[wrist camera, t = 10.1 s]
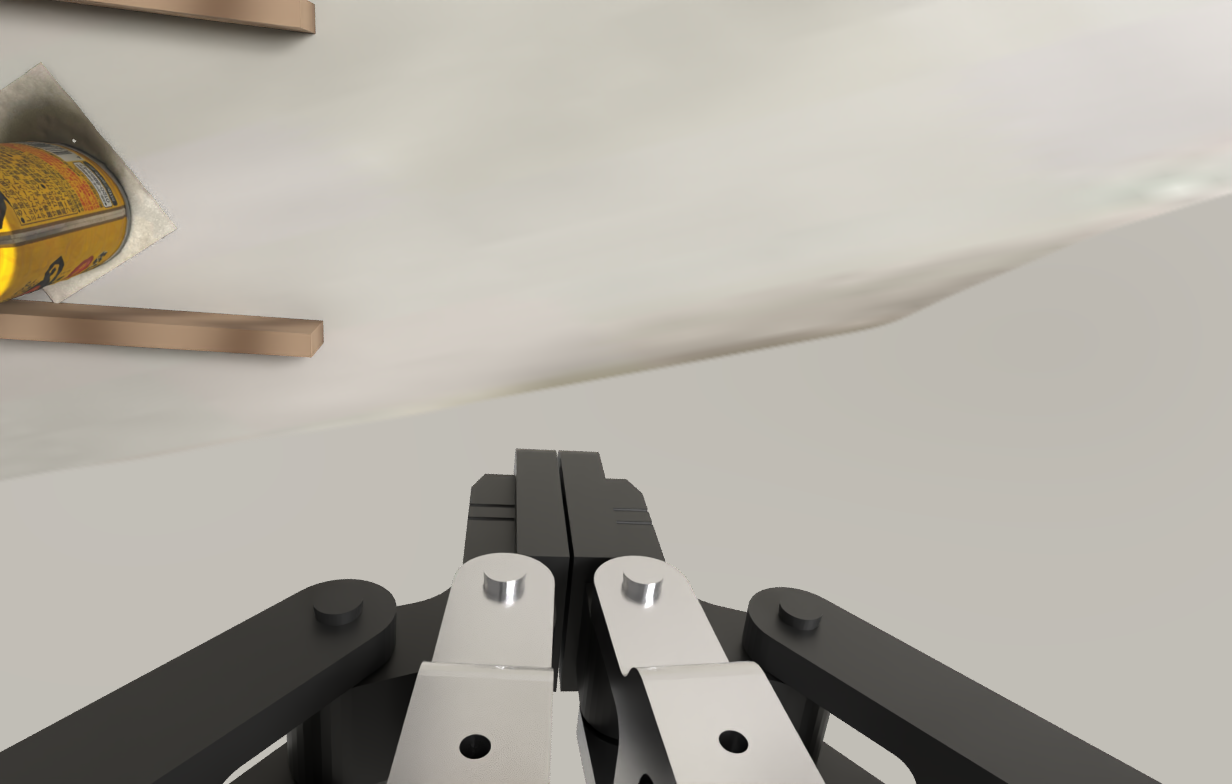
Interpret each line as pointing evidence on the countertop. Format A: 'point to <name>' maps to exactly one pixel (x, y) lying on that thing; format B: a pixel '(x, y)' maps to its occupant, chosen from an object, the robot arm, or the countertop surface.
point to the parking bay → (245, 3)
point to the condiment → (64, 195)
